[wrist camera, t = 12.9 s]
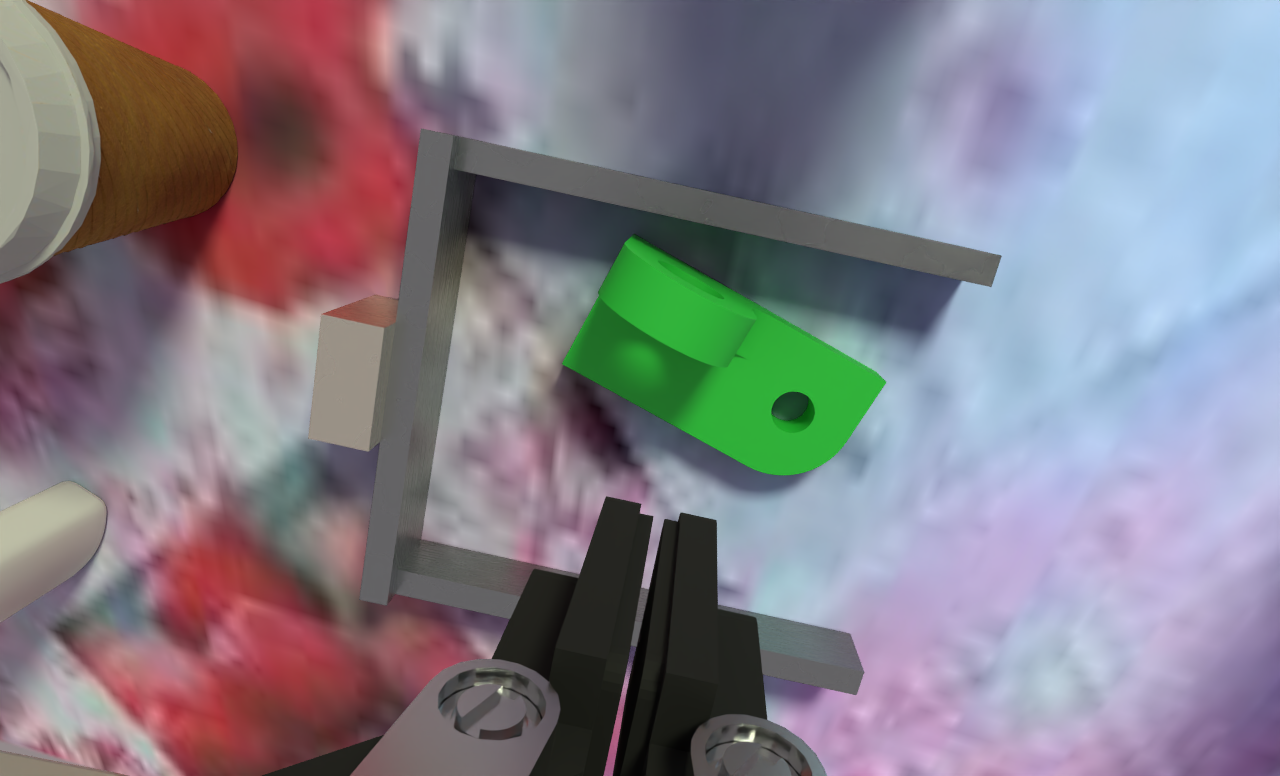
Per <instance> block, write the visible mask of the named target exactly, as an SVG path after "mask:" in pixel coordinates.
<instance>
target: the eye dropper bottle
mask: <svg viewBox="0 0 1280 776" xmlns="http://www.w3.org/2000/svg"><path fill="white" fill-rule="evenodd" d="M106 517H107V509H106V506H105V503H104V502H103V501H102V500H101V499H100V498H99V497H97V496H96V495H94V494H93V493H91V492H90V491H88V490H87V489H85V488H83V487H82V486H80V485H79V484H77V483H75V482H72V481H65V482H61V483H59V484H57V485H55V486H53V487H50V488H48V489H46V490H44V491H42V492H40V493H38V494H36V495H34V496H32V497H30V498H28V499H25V500H23V501H21V502H19V503H17V504H15V505H13V506H11V507H9V508H7V509H5V510H3V511H1V512H0V623H1V622H2V621H4V620H5V619H7V618H9V617H10V616H12V615H13V614H15V613H16V612H18V611H19V610H21V609H23V608H24V607H26V606H27V605H29V604H30V603H32V602H33V601H35V600H37V599H38V598H40V597H41V596H43V595H44V594H46V593H47V592H49V591H51V590H52V589H54V588H55V587H57V586H58V585H60V584H61V583H63V582H65V581H66V580H68V579H69V578H70V577H72V576H73V575H74V574H76V573H77V572H78V571H79V570H80V569H82V568H83V567H84V566H85V565H86V564H87V562H88V561H89V560H90V559H91V558H92V556H93V555H94V553H95V552H96V550H97V548H98V546H99V544H100V542H101V540H102V537H103V534H104V530H105V525H106Z"/></svg>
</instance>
